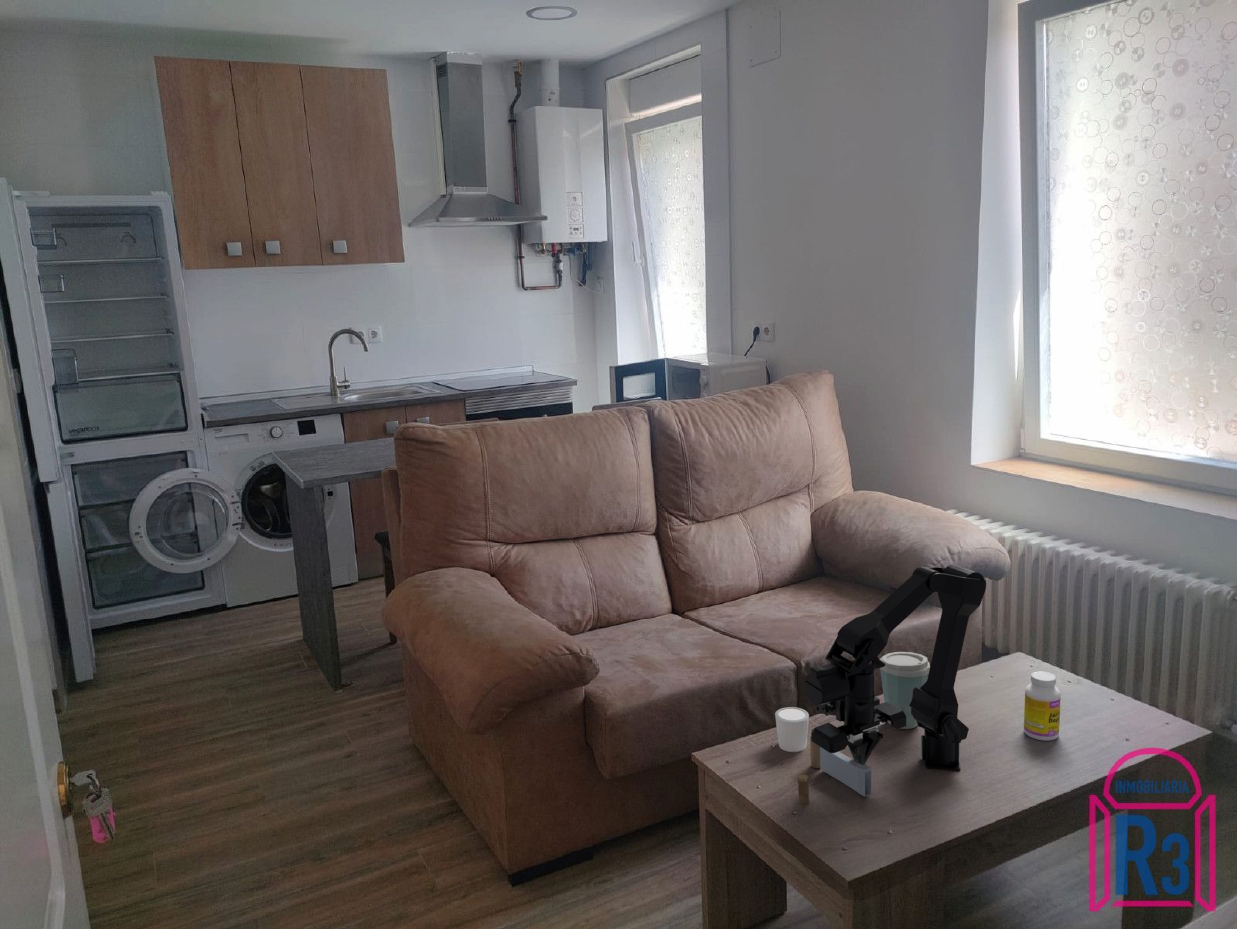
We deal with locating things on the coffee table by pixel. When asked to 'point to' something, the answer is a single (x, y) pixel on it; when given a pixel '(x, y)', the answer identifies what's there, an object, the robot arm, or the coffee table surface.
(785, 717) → the white cup
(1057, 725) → the supplement bottle
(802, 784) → the brown rectangular block
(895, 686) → the disposable coffee cup
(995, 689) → the coffee table surface
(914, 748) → the coffee table surface
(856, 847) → the coffee table surface
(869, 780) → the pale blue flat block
